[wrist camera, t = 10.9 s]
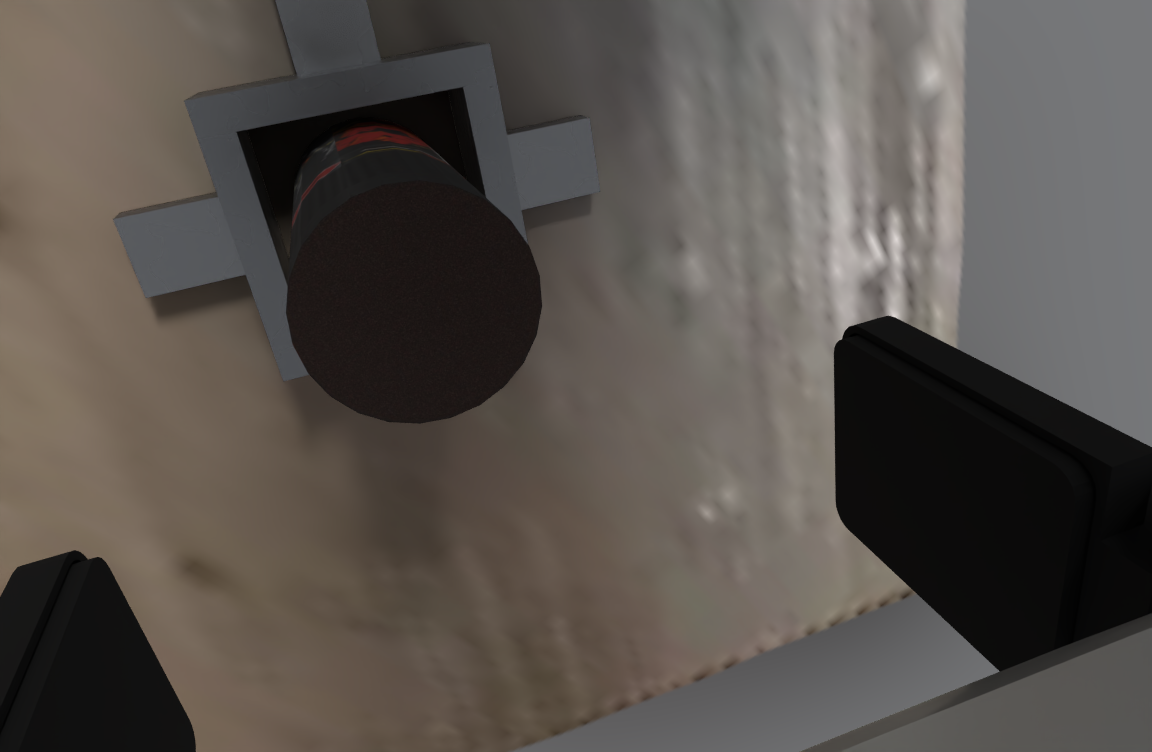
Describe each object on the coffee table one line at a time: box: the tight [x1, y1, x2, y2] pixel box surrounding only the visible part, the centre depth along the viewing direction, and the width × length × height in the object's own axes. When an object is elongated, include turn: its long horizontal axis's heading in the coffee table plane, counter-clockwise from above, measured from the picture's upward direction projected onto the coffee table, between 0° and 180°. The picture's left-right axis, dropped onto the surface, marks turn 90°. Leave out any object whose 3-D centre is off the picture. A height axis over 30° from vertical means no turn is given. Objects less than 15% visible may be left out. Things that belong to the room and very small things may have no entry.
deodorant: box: [286, 118, 542, 423], centre depth 25 cm, size 6×6×15 cm
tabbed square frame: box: [113, 0, 600, 381], centre depth 30 cm, size 18×18×4 cm
